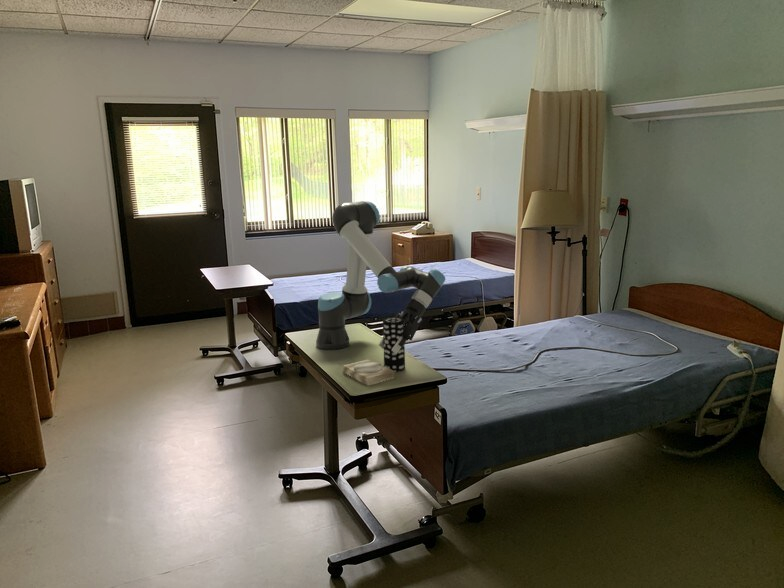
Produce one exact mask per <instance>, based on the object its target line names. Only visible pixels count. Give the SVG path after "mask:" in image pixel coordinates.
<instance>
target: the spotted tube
mask: <svg viewBox="0 0 784 588" xmlns="http://www.w3.org/2000/svg"><path fill="white" fill-rule="evenodd" d="M404 330H405V324H404V319H402V318H394V317H387V318H384V319H382V339H383V344H384V349H383V366H384V367H387V368H389V369H391V370H393V371H394V373H400V372H403V371H404V370H406V357H405V356H406V352H405V351H406V349H405V346H406V345H405V344H404V345H403V346H402V347H401V348H400V350H399V351H398V353H397V354H395V353H394V352H393V351H392V348H393V347H394V345H395V344H396V342H397V341H398V340H399V338H400V337H402V336H401V335H403V333H404ZM402 338H403V337H402Z"/></svg>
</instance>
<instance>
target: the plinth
mask: <svg viewBox="0 0 784 588" xmlns="http://www.w3.org/2000/svg"><path fill="white" fill-rule="evenodd" d="M342 373H343V374H345V375H346V374H347V375H346V376H348V375H349V377H350V376H351V378H352V379H354V380H356V381H358V382H360V383H362V384H364V385H366V386H373V385H376V384H379V382H380V383H384V382H386V380H387V381H390V379H391V380H395V372H394V371H393V370H391V369H389V368H387V367H384V365H382V364H381V363H379V362H376V361H373V360H371V359H368V358H367V359H365V360H360V361H356V362H352V363H347V364H343V365H342ZM383 381H384V382H383Z"/></svg>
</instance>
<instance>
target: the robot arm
mask: <svg viewBox="0 0 784 588" xmlns="http://www.w3.org/2000/svg"><path fill="white" fill-rule="evenodd" d="M380 217H381V214H380V211H379V208H377V206H376V205H375V204H374V203H373V202H372V201H368V200H367V201H365V200H361V201H354V202H353V201H352V202H342V203H340V204H339V205H337V206H336V208H335V209H334V210H333V213H332V225H333V227H334V230H335V231H336V233H337V234H338V235H339V237H341V238H342V239H345V240H346V242H348V244H349V245H348V256H347V265H346V266H347V267H346V268H347V269H346V281H345V285H344V286H342V288H341V289H342V290H341V292H340V291H339V292H338V291H335V292H334V291H333V292H328V293H325V294H322V295H320V297H319V298H318V301H317V311H318V312H317V313H318V328H319V329H318V334H317V337H316V340H315V341H316V342H315V344H316V347H317V348H318V349H320V350H327V351H328V350H329V351H330V350H332V351H333V350H339V349H340V350H341V349H344V348H347V347H349V346H350V345H351V343H350V338H349V334H348V331H347V330H346V322H345V321H346V320H348V319H352V318H355V317H360V316H362V315H364V314H367V313H368V312H369V310H371V307H372V297H371V294H370V293H369V292H368V288H367V287H366V285H365V284H366V274H367V267H368V268H369V270H371V272H372V274H374V275H375V277H376V278H377V279H376V280H377V281H376V282H377V286H378V289H379V290H380V291H381V292H382V293H386V294H387V293H394V292H396V291H401V290H405V289H408V288H415V289H416V290H415V292H414V294H413V295H412V296H411V299H409V300H408V302H407V304H406V306H405V307H406V309H404V310H403V311H402V310H398V311H397V312H396V314H395V316H394V317H393V318H402V319H404V325H405V326H404V333H403V335H401V336H402V337H403V338H402V337H400V338H399V340H398V341H397V342H396V344H395V345H394V347H393V348H392V351H393V352H394V353H395V354H397V353H398V351H399V350H400V348H401V347H402V346H403V345H404V344H405V343H406V342H407V341H412V340H413V338H414V337H415V335H416V332H417V330H418V328H419V326H420V325H421V324H422V323H423V319H422V316H423V314H424V313H425V312H426V310H427V308H428V307H429V306H430V304H431V303H432V301H433V300H434V298H435V297H436V295H437V294H438V292H439V291H440V290H441V288H443V287H442V286H443V285H444V283H445V282H446V276H445V275H444V273H442V272H441V271H440V270H438V269H436V268H431V269H430V270H429V271H428V272H426V271H423V270H420V269H418V268H416V267H413V266H409V265H404V266H402V267H401V268H400V269H399V270H398V271H397V270H396V269H395V268H394V267H393V266H392V265H391V264H390V262H389V261H388V260H387V258H385V256H384V254H382V253H381V252H380V250H379V249H378V248H377V247H376V246H375V244H374V243H373V241H371V240H370V236H372V234H373V233H374V228H375V227H376V226H378V224H379V223H380ZM378 346H379V347H380V348H381V349H383V350H384V344H383V338H381V340H380V342H379V343H378Z"/></svg>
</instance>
